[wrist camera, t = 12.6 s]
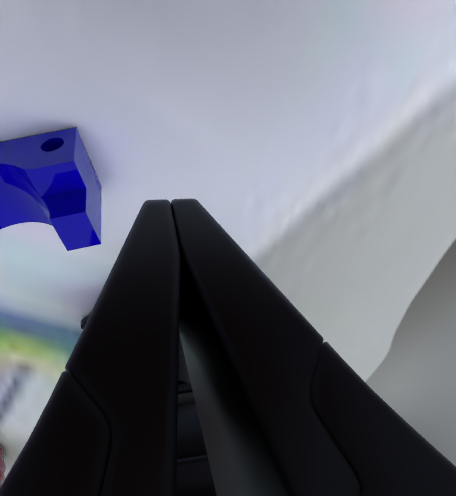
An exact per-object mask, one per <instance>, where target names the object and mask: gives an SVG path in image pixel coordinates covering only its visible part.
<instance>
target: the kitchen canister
mask: <svg viewBox="0 0 456 496" xmlns="http://www.w3.org/2000/svg"><path fill="white" fill-rule="evenodd" d="M4 455H5V454H4V450H3V449H2V448H1V447H0V487H1V485H2V483H3V481H4V473H5V469H6V466H5V462H4Z"/></svg>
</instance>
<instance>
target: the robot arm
mask: <svg viewBox="0 0 456 496" xmlns="http://www.w3.org/2000/svg"><path fill="white" fill-rule="evenodd" d="M81 328H82V329H83V331H82V333H81V335H80V337H79V339H78V341H77V343H76V345H75V347H74V349H73V352H72V354H71V356H70V358H69V360H68V362H67V364H66V366H65V369H66V371H64V372H63V373H62V374H61V376H60V378H59V380H58V382H57V384H56V386H55V388H54V391H53V393H52V395H51V397H50V399H49V401H48V403H47V405H46V407H45V409H44V410H43V412H42V414H41V416H40V418H39V420H38V422H37V424H36V426H35V428H34V430H33V432H32V434H31V436H30V437H29V439H28V441H27V443H26V445H25V446H24V448H23V450H22V451H21V453H20V455H19V456H18V458H17V460H16V461H15V463H14V465H13V467H12V468H11V470H10V472H9V473H8V475H7V477H6V478H5V480H4V482H3V483H2V485H1V487H0V496H456V467H455V466H454V465H453V464H452V463H451V462H450V461H449V460H448V459H447V458H446V457H444V456H443V455H442V454H441V453H440V452H438V450H436V449H435V448H434V447H433V446H432V445H431V444H430V443H429V442H428V441H427V440H426V439H424V438H423V437H422V436H421V435H420V434H419V433H418V432H417V431H416V430H414V429H413V428H412V427H411V426H410V425H409V424H408V423H406V421H405V420H403V419H402V418H401V417H400V416H399V415H398V414H397V413H396V412H395V411H394V410H393V409H392V408H391V407H390V406H389V405H387V403H386V402H384V401H383V400H382V399H381V398H380V397H379V396H378V395H377V394H376V393H375V392H374V391H373V390H372V389H371V388H370V387H369V386H368V385H367V384H366V383H365V382H364V381H363V380H362V379H361V378H360V377H359V376H358V375H357V374H356V372H355V371H354V370H353V369H352V368H351V367H350V366H349V365H348V364H347V363H346V362H345V361H344V360H343V359H342V358H341V357H340V356H339V355H338V353H337V352H336V351H335V350H334V349H333V348H332V347H331V346H330V345H329V344H328V343H327V342H324V343H323V337H322V336H321V335H320V334H319V333H318V332H317V331H316V330H315V329H314V327H313V326H312V325H311V324H310V323H309V322H308V321H307V320H306V319H305V318H304V317H303V315H302V314H301V313H300V312H299V311H298V310H297V309H296V308H295V307H294V306H293V304H292V303H291V302H290V301H289V300H288V299H287V298H286V297H285V296H284V295H283V294H282V292H281V291H280V290H279V289H278V288H277V287H276V286H275V285H274V284H273V283H272V282H271V280H270V279H269V278H268V277H267V276H266V275H265V274H264V273H263V272H262V271H261V270H260V268H259V267H258V266H257V265H256V264H255V263H254V262H253V261H252V260H251V259H250V258H249V256H248V255H247V254H246V253H245V252H244V251H243V250H242V249H241V248H240V247H239V245H238V244H237V243H236V242H235V241H234V240H233V239H232V238H231V237H230V236H229V235H228V233H227V232H226V231H225V230H224V229H223V228H222V227H221V226H220V225H219V224H218V223H217V221H216V220H215V219H214V218H213V217H212V216H211V215H210V214H209V213H208V212H207V211H206V209H205V208H204V207H203V206H202V205H201V204H200V203H199V202H198V201H197V200H195V199H174V200H172V202H171V203H170V202H169V201H168V200H147V201H145V202H144V203H143V205H142V207H141V209H140V211H139V214H138V216H137V218H136V220H135V222H134V224H133V226H132V228H131V230H130V232H129V234H128V237H127V239H126V241H125V243H124V245H123V247H122V249H121V251H120V253H119V255H118V257H117V260H116V262H115V264H114V266H113V268H112V270H111V272H110V274H109V276H108V278H107V280H106V283H105V285H104V287H103V289H102V291H101V293H100V295H99V297H98V299H97V301H96V303H95V306H94V308H93V310H92V312H91V314H90V315H89V316H88V317H86V318H84V319H83V320H82V321H81Z"/></svg>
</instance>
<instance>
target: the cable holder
mask: <svg viewBox="0 0 456 496" xmlns="http://www.w3.org/2000/svg"><path fill="white" fill-rule="evenodd" d="M24 222H41V223H46V224H49V225H52V226H53V227H54V228H55V230H56V232H57V233H58V235H59V237H60V239H61V240H62V242H63V244H64V246H65V247H66V249H67V251H69V250H74V249H79V248H84V247H89V246H93V245H98V244H101V185H100V182H99V180H98V177H97V175H96V173H95V170H94V168H93V166H92V163H91V161H90V158H89V156H88V154H87V151H86V149H85V147H84V144H83V142H82V139H81V137H80V135H79V132H78V130H77V127H76V128H70V129H65V130H60V131H55V132H50V133H45V134H40V135H34V136H29V137H24V138H19V139H14V140H9V141H4V142H0V229H2V228H5V227H7V226H10V225H14V224H18V223H24Z"/></svg>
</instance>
